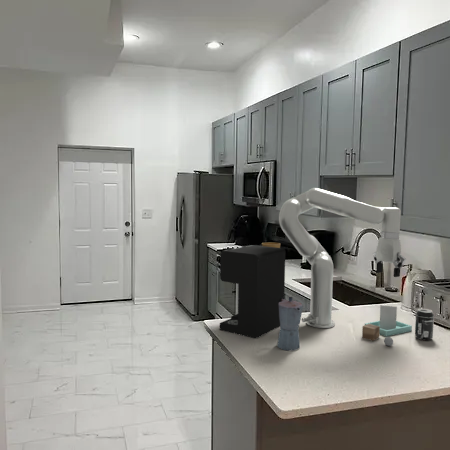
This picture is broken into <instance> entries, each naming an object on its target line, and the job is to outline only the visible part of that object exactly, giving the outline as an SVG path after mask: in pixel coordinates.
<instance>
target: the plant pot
mask: <svg viewBox="0 0 450 450" xmlns="http://www.w3.org/2000/svg"><path fill="white" fill-rule="evenodd" d="M261 246H267V247H277V248H281V243H280V242H262V243H261Z"/></svg>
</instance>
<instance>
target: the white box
mask: <svg viewBox="0 0 450 450" xmlns="http://www.w3.org/2000/svg"><path fill="white" fill-rule="evenodd" d="M379 306H380V309H379V321H380V328H381V329H387V330H391V329H395V328H396V321H397V317H398V316H397V314H398V311H397V310H398V307H397V306H393V305H383V304H382V305H379Z"/></svg>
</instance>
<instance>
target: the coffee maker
mask: <svg viewBox="0 0 450 450" xmlns="http://www.w3.org/2000/svg"><path fill="white" fill-rule="evenodd" d="M286 252H287V251H286V249H285V248H284V247H280V248H277V247H267V246H262V245H257V244H252V245H242V246H241V247H236V248H226V249H225V250H222V251H220V255H219V256H220V257H219V258H220V259H219V261H220V265H219V266H220V267H219V268H220V269H219V278H220V281H222V282H225V283H231V284H237V285H238V286H237V287H238V288H237V289H238V290H237V296H238V297H237V314H234V315H231V317H230V318H229V319H226V320H223V321H221V322H220V323H219V331H222V332H226V333H231V334H234V333H235V335H239V334H240V335H239V336H243V335H244V337H247V338H250V339H251V338H252V339H255V340H256V339H258V338H260V337H262V336H264V335H266V334H268V333H270V332H272V331H273V330H276V329H278V328H280V318H279V305H278V303H279V300H280V298H281V297H282V298H283V299H285V288H286V287H285V285H286V283H285V282H286V281H285V279H286Z"/></svg>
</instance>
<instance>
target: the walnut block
mask: <svg viewBox="0 0 450 450" xmlns="http://www.w3.org/2000/svg"><path fill="white" fill-rule="evenodd" d="M361 331H362V332H361V333H362V334H361V338H362V339H365V340H369V341H372V342H373V341H376V340H378V339H380V334H379V331H380V326H376V325H372V324H367V325H365V324H364V325H362V330H361Z"/></svg>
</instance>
